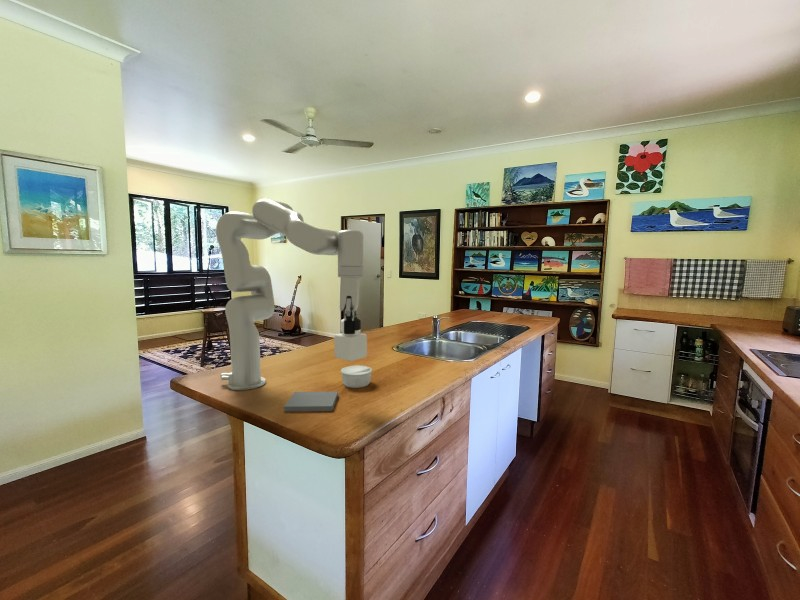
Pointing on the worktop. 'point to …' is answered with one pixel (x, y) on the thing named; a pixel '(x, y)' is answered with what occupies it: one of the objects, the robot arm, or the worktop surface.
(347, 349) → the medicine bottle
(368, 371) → the ramekin
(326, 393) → the rubber mat
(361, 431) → the worktop surface
